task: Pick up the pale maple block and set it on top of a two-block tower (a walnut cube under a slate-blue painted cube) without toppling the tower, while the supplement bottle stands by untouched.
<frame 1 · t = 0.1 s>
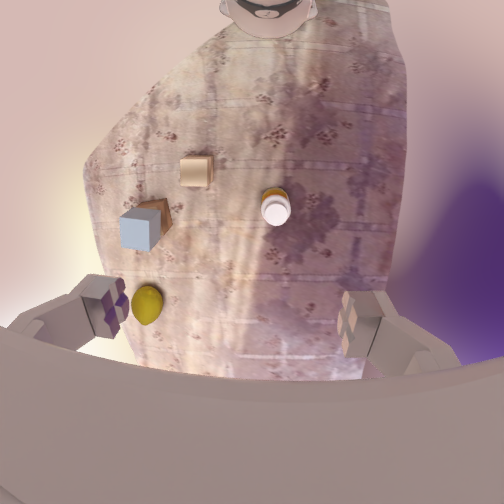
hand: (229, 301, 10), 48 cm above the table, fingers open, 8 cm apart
lemon: (152, 295, 70), on the table
bottom block: (157, 213, 60), on the table, touching top block
top block: (146, 223, 54), point 6 cm above the table, touching bottom block
supplement bottle: (275, 199, 57), on the table
maple block: (201, 167, 55), on the table
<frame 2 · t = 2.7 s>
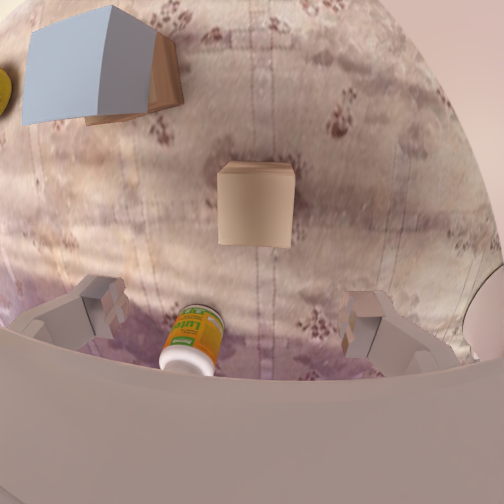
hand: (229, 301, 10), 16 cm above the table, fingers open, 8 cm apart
lemon: (2, 93, 20), on the table
bottom block: (147, 81, 20), on the table, touching top block
top block: (113, 74, 15), point 6 cm above the table, touching bottom block
supplement bottle: (201, 321, 31), on the table
maple block: (259, 190, 24), on the table
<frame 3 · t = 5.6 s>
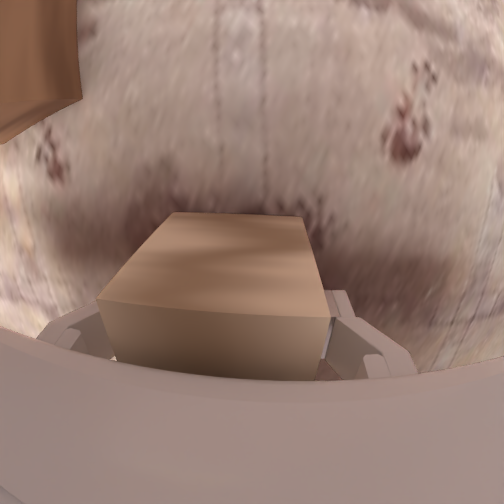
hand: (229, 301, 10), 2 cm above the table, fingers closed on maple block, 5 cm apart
bottom block: (32, 68, 8), on the table, touching top block
maple block: (235, 271, 12), on the table, touching gripper
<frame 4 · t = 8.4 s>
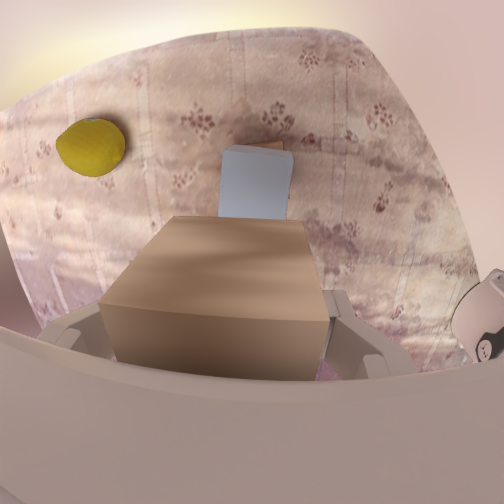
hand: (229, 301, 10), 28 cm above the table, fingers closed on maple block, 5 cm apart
lemon: (106, 141, 35), on the table
top block: (258, 174, 30), point 6 cm above the table, touching bottom block
maple block: (236, 274, 12), point 26 cm above the table, touching gripper
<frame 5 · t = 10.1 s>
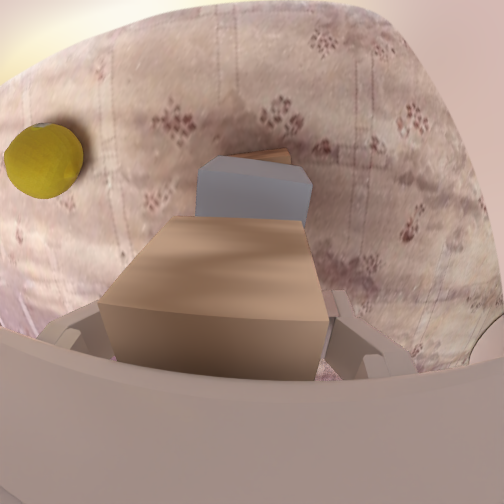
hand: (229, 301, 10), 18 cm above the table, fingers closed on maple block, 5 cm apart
lemon: (65, 151, 26), on the table
bottom block: (258, 182, 27), on the table, touching top block
top block: (254, 199, 21), point 6 cm above the table, touching bottom block
maple block: (235, 274, 12), point 16 cm above the table, touching gripper
when the fingers open (15 cm above the table, at t = 11.6 s): maple block drops 1 cm, resting on top block.
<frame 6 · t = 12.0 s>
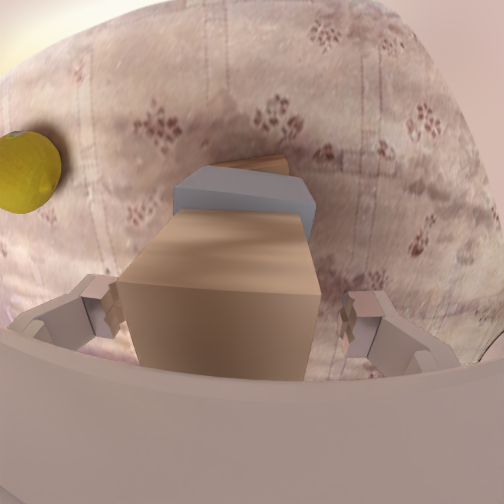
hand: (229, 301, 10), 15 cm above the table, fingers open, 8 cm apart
lemon: (44, 161, 23), on the table
bottom block: (252, 193, 24), on the table, touching top block
top block: (246, 216, 18), point 6 cm above the table, touching bottom block, maple block
maple block: (238, 263, 13), point 12 cm above the table, touching top block
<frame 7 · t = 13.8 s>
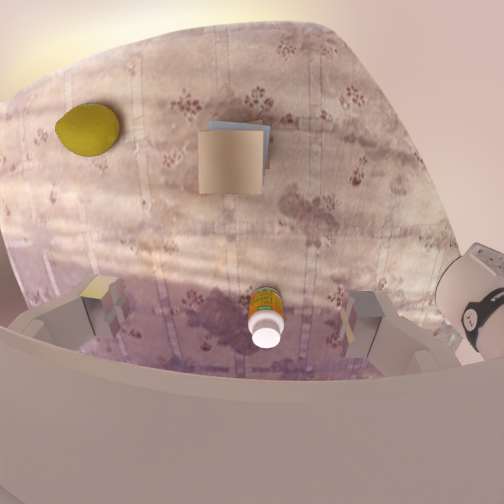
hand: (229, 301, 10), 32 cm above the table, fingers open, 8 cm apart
lemon: (101, 127, 37), on the table
top block: (240, 147, 32), point 6 cm above the table, touching bottom block, maple block
supplement bottle: (266, 299, 48), on the table
maple block: (236, 154, 27), point 12 cm above the table, touching top block
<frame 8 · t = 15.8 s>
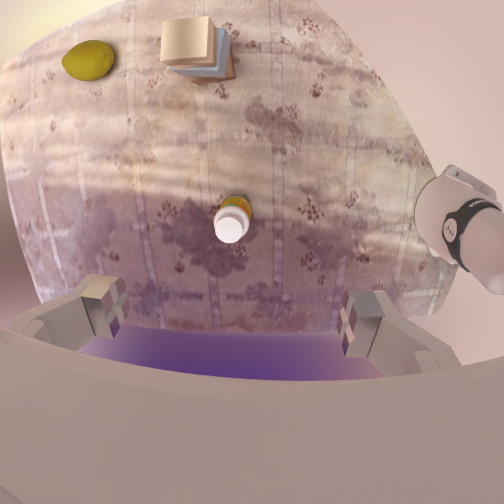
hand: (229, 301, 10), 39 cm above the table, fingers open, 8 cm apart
lemon: (100, 62, 38), on the table
bottom block: (214, 65, 39), on the table, touching top block
top block: (207, 58, 33), point 6 cm above the table, touching bottom block, maple block
supplement bottle: (236, 209, 50), on the table
maple block: (197, 50, 28), point 12 cm above the table, touching top block
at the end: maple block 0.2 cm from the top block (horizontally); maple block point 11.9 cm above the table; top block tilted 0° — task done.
